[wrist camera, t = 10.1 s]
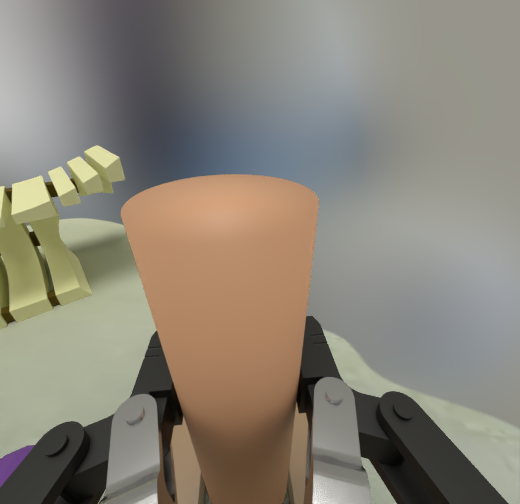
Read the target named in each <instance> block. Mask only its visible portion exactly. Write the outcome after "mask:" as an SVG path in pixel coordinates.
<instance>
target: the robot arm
mask: <svg viewBox="0 0 520 504" xmlns="http://www.w3.org/2000/svg"><path fill="white" fill-rule="evenodd" d="M296 402H297V407H298V412H299V414H300V413H306V416H307V421H308V430H307V451H306V473H305V491H304V502H303V504H371V495H370V487H369V481H368V476H367V473H366V470H365V469H364V468H363V466H362V462H361V457H364V458H367V459H369V460H370V461H371V463H372V465H373V466H374V468H375V469H376V471H377V473H378V474H379V476H380V477H381V479H382V480H383V482H384V484H385V485H386V487H387V488H388V490H389V491H390V493H391V495H392V496H393V498H394V499H395V501H396V503H397V504H508V503H507V502H506V500H505V499H504V498H503V497H502V496H501V495H500V494H499V493H498V492H497V491H496V489H495V488H494V487H493V486H492V485H491V484H490V483H489V482H488V481H487V480H486V479H485V477H484V476H483V475H482V474H481V473H480V472H479V471H478V470H477V469H476V468H475V466H474V465H473V464H472V463H471V462H470V461H469V460H468V459H467V458H466V457H465V455H464V454H463V453H462V452H461V451H460V450H459V449H458V448H457V447H456V446H455V445H454V443H453V442H452V441H451V440H450V439H449V438H448V437H447V436H446V435H445V434H444V432H443V431H442V430H441V429H440V428H439V427H438V426H437V425H436V424H435V423H434V421H433V420H432V419H431V418H430V417H429V416H428V415H427V414H426V413H425V412H424V411H423V409H422V408H421V407H420V406H419V405H418V404H417V403H416V402H415V401H414V400H413V399H411V398H410V397H409V396H407V395H405V394H403V393H400V392H395V391H391V392H387V393H385V394H384V395H383V396H382V397H381V398H379V397H375V396H371V395H366V394H362V393H359V392H357V391H355V390H353V389H351V388H350V387H349V386H348V385H347V384H346V383H345V382H344V381H343V380H342V378H341V376H340V374H339V372H338V369H337V367H336V364H335V361H334V359H333V356H332V354H331V351H330V349H329V346H328V344H327V341H326V338H325V336H324V333H323V330H322V328H321V325H320V324H319V322H318V321H317V320H316V319H315V318H314V317H313V316H306V322H305V331H304V339H303V348H302V357H301V366H300V375H299V384H298V393H297V401H296ZM183 416H184V415H183V412H182V409H181V406H180V403H179V399H178V396H177V393H176V390H175V387H174V383H173V380H172V377H171V374H170V371H169V367H168V364H167V361H166V358H165V355H164V351H163V348H162V345H161V342H160V339H159V335H158V332H157V331H156V332H155V333H154V334H153V336H152V337H151V340H150V343H149V346H148V349H147V351H146V354H145V359H144V360H143V363H142V366H141V368H140V371H139V374H138V377H137V380H136V383H135V386H134V388H133V391H132V394H131V396H130V398H129V399H127V400H126V401H125V402H124V403H122V404H121V406H120V407H119V408H118V409H117V411H116V412H115V413H114V414H113V415H111V416H109V417H107V418H105V419H103V420H100V421H98V422H95V423H93V424H90V425H88V426H86V427H82V425H81V424H80V423H78V422H74V421H71V422H65V423H62V424H60V425H58V426H56V427H54V428H53V429H51V430H50V431H49V432H47V433H46V434H45V435H44V436H43V437H42V438H41V439H40V440H39V441H38V442H37V444H36V445H35V446H34V447H33V448H32V450H31V451H30V452H29V453H28V455H27V456H26V457H25V458H24V459H23V461H22V462H21V463H20V464H19V465H18V467H17V468H16V469H15V470H14V471H13V473H12V474H11V475H10V476H9V477H8V479H7V480H6V481H5V482H4V484H3V485H2V486H1V487H0V504H97V503H98V502H99V500H100V498H101V496H102V494H103V493H104V491H105V489H106V492H105V496H104V498H103V499H102V500H101V501H100V502H99V504H178V501H177V491H176V480H175V470H174V459H173V448H172V441H171V439H172V434H173V428H174V426H176V425H182V423H183Z"/></svg>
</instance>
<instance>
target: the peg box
mask: <svg viewBox="0 0 520 504" xmlns="http://www.w3.org/2000/svg"><path fill="white" fill-rule="evenodd" d="M307 430H308V421H307V416H306V413H300V414H299V412H298V407H297V402H296V410H295V419H294V428H293V437H292V446H291V455H290V463H289V472H288V481H287V483H288V491H289V498H290V504H303V502H304V491H305V473H306V451H307ZM171 441H172V448H173V459H174V470H175V480H176V491H177V501H178V504H204V492H205V483H204V479H203V476H202V473H201V470H200V467H199V463H198V460H197V457H196V454H195V451H194V447H193V444H192V441H191V438H190V435H189V431H188V428H187V425H186V422H185V419H184V416H183V423H182V425H176V426H174V428H173V434H172V439H171Z"/></svg>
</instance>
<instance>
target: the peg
mask: <svg viewBox="0 0 520 504" xmlns="http://www.w3.org/2000/svg"><path fill="white" fill-rule="evenodd" d="M318 207H319V200H318V197H317V196H316V194H315V193H314V192H312V191H311V190H310V189H308V188H307V187H305V186H303V185H300V184H298V183H295V182H292V181H289V180H285V179H280V178H275V177H268V176H259V175H242V174H241V175H240V174H229V175H211V176H201V177H194V178H187V179H182V180H177V181H172V182H169V183H165V184H161V185H158V186H155V187H152V188H150V189H147V190H145V191H143V192H141V193H139V194H137V195H136V196H134V197H132V198H131V199H129V200H128V201H127V202H126V203H125V204H124V206H123V208H122V210H121V217H122V220H123V223H124V227H125V230H126V233H127V236H128V239H129V243H130V246H131V249H132V252H133V255H134V259H135V262H136V265H137V268H138V271H139V275H140V278H141V281H142V284H143V287H144V291H145V294H146V297H147V300H148V303H149V307H150V310H151V313H152V316H153V319H154V323H155V326H156V329H157V332H158V335H159V339H160V342H161V345H162V348H163V351H164V355H165V358H166V361H167V364H168V367H169V371H170V374H171V377H172V380H173V383H174V387H175V390H176V393H177V396H178V399H179V403H180V406H181V409H182V412H183V415H184V419H185V422H186V425H187V428H188V431H189V435H190V438H191V441H192V444H193V447H194V451H195V454H196V457H197V460H198V463H199V467H200V470H201V473H202V476H203V479H204V483H205V486H206V489H207V492H208V495H209V499H210V502H211V504H283V501H284V498H285V495H286V490H287V481H288V472H289V463H290V455H291V446H292V437H293V428H294V419H295V410H296V401H297V393H298V384H299V375H300V366H301V357H302V348H303V339H304V331H305V322H306V313H307V304H308V295H309V286H310V278H311V269H312V260H313V251H314V242H315V233H316V224H317V215H318Z"/></svg>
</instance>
